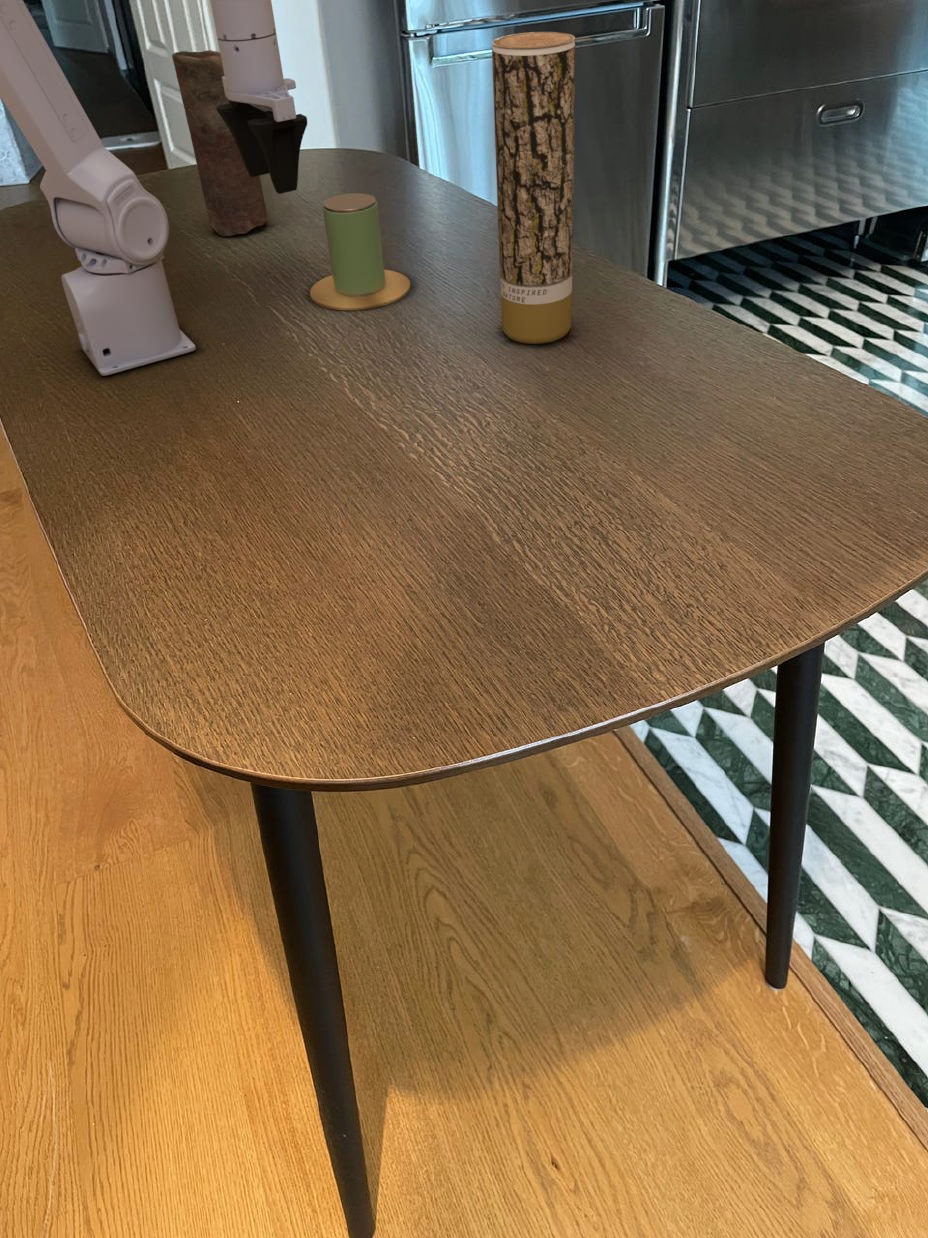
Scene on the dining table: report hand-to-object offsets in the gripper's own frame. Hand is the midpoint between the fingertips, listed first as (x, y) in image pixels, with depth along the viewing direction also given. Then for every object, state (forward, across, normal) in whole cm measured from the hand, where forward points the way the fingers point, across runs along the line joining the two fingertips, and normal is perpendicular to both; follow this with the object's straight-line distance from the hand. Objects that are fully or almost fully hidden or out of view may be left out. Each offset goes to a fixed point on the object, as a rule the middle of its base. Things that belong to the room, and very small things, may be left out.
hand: (272, 182), depth 103 cm
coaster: (+10, -8, -5) cm, 14 cm away
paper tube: (+11, -29, -14) cm, 34 cm away
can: (+10, -8, -5) cm, 14 cm away
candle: (+11, +21, -2) cm, 24 cm away
